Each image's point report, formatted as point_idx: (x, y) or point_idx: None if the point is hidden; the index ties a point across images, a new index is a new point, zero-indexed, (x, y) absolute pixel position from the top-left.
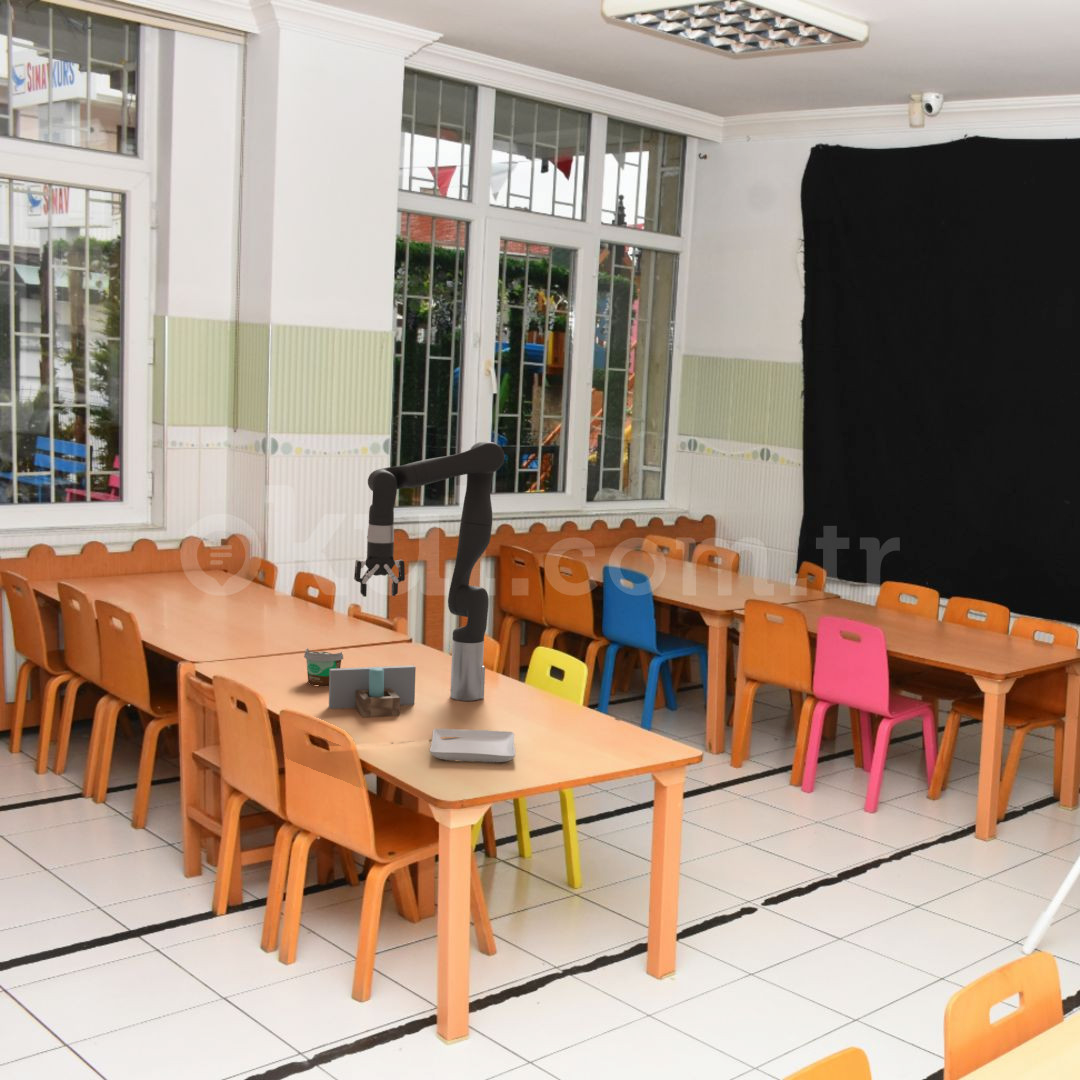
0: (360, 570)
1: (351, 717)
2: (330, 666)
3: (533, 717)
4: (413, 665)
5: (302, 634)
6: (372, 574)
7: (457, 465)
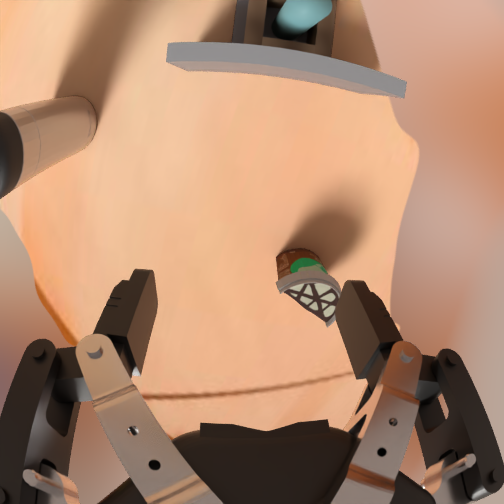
0: (468, 427)
1: (334, 39)
2: (303, 267)
3: (29, 9)
4: (167, 59)
5: (238, 424)
6: (375, 418)
7: None
